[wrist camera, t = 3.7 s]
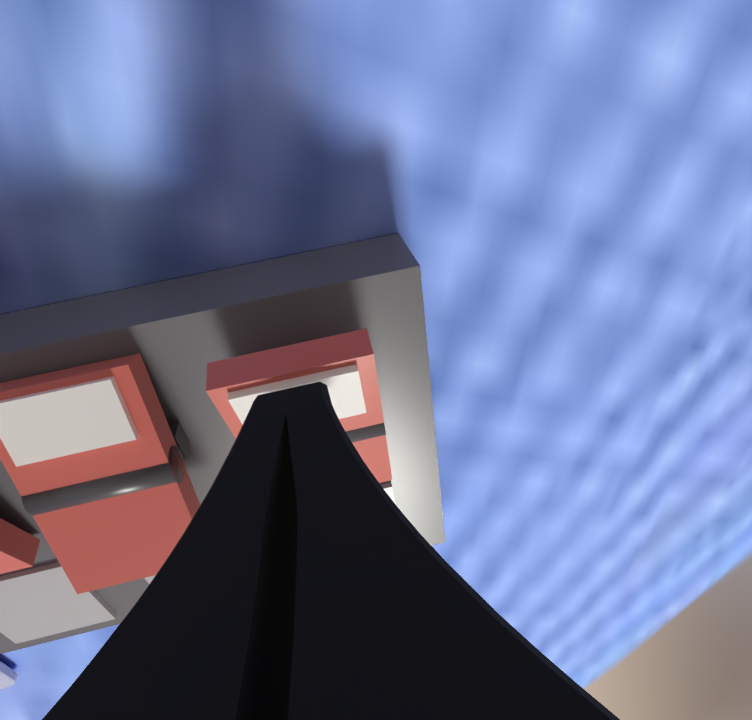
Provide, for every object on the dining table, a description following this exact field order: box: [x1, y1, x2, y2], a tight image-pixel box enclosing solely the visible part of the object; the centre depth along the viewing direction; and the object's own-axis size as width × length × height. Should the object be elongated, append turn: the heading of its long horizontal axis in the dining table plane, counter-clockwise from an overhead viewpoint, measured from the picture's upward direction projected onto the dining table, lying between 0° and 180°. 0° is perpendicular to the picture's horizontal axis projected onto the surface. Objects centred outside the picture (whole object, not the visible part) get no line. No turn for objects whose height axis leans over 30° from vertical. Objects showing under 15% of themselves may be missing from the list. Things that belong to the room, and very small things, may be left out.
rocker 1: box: [0, 353, 200, 594], centre depth 12 cm, size 4×6×1 cm, turn 8°
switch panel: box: [0, 233, 445, 654], centre depth 15 cm, size 18×12×3 cm, turn 98°
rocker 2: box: [206, 328, 392, 483], centre depth 12 cm, size 4×6×1 cm, turn 8°
